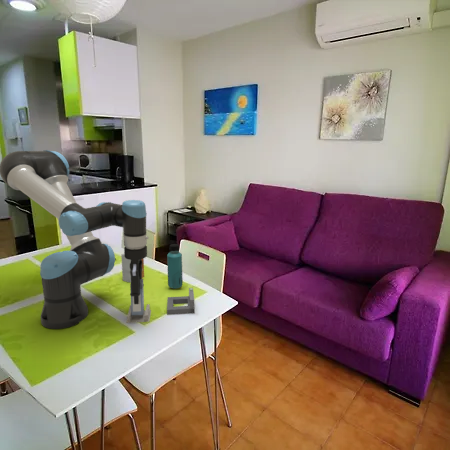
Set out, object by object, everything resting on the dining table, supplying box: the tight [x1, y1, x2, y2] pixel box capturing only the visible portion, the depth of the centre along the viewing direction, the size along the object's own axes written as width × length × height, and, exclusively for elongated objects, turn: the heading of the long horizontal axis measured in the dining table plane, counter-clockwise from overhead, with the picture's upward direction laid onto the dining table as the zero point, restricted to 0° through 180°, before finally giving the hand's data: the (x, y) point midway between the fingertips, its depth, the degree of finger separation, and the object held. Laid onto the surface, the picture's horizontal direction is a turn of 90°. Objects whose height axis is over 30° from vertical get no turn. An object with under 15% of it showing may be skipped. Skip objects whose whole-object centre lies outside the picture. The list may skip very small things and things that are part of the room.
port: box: [166, 287, 195, 316], centre depth 122 cm, size 10×10×7 cm
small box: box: [120, 252, 145, 283], centre depth 147 cm, size 8×6×13 cm
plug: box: [129, 278, 145, 315], centre depth 114 cm, size 4×4×12 cm
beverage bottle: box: [166, 243, 184, 289], centre depth 138 cm, size 6×7×20 cm
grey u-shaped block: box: [125, 303, 152, 324], centre depth 116 cm, size 8×8×3 cm
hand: (137, 307), depth 115 cm, fingers closed on plug, 4 cm apart
